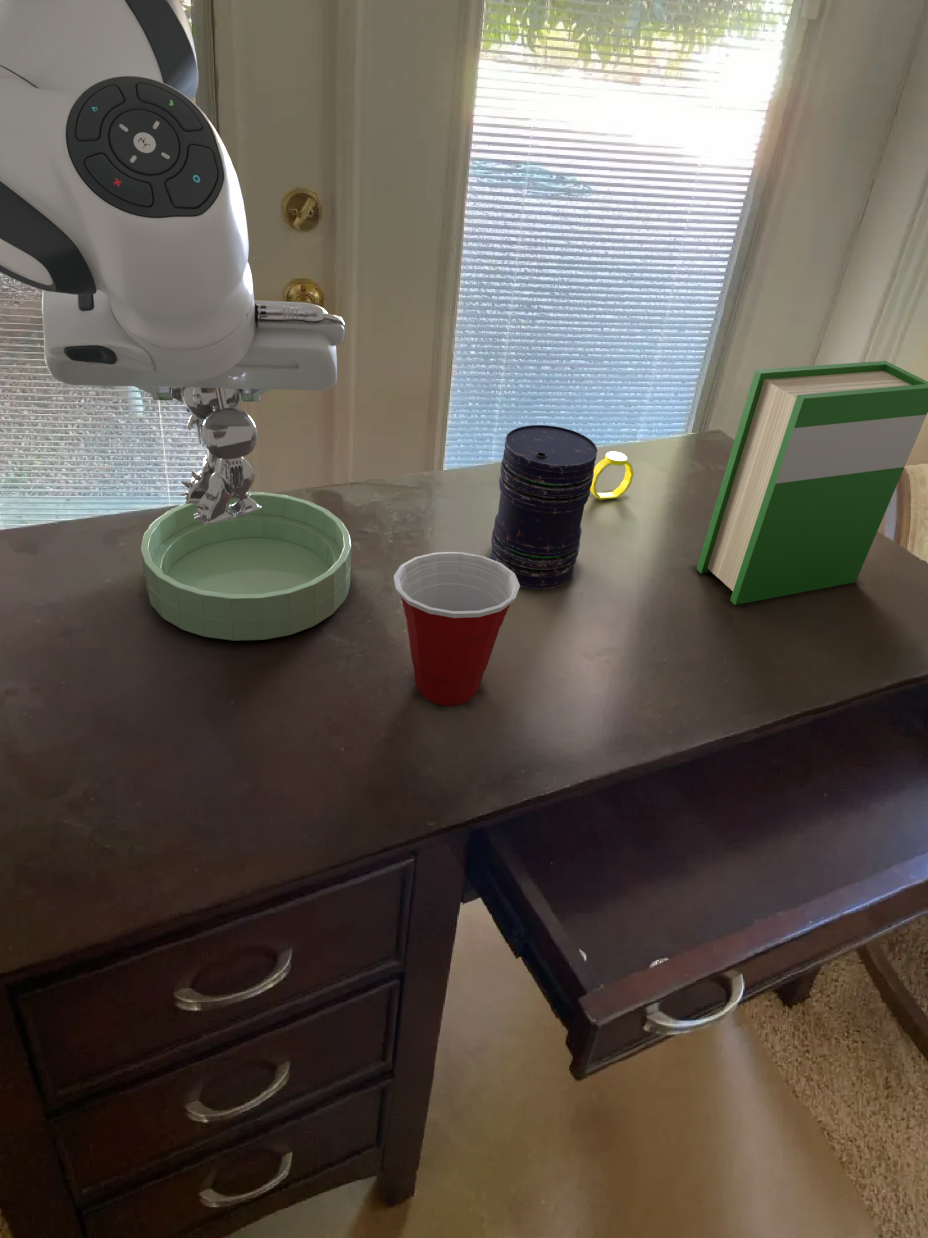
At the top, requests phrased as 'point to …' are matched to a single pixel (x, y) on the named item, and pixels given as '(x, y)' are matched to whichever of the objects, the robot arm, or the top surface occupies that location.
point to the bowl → (248, 569)
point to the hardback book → (811, 476)
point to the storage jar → (542, 503)
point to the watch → (609, 459)
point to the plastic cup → (453, 619)
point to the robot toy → (220, 453)
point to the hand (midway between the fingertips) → (207, 392)
